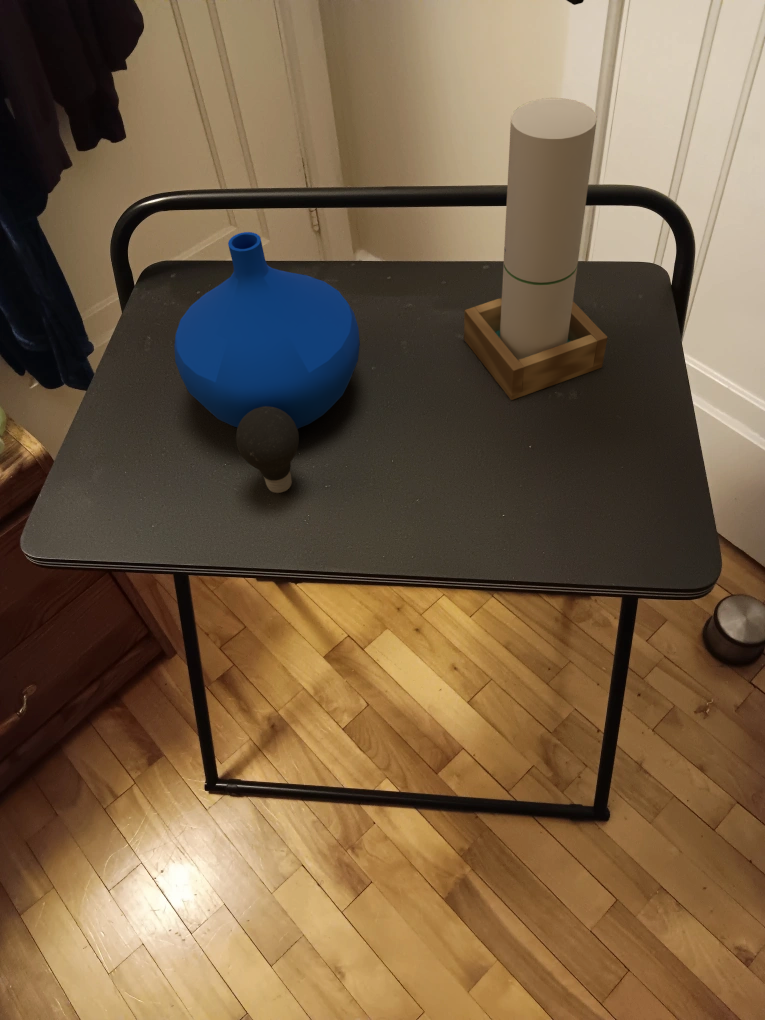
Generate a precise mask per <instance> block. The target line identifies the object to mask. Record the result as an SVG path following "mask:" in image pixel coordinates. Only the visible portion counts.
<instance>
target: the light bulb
mask: <svg viewBox="0 0 765 1020" xmlns="http://www.w3.org/2000/svg"><path fill="white" fill-rule="evenodd" d="M236 428H237V427H236ZM235 435H236V436H235V442H236V446H237V449H238V451H239V453H240V455H241V457H242V458H243V459H244V460H245V462H247V464H249V465H250V466H252V467H253V468H255V469H257V470H258V471H259V472H260V474H261V476H262V477H263V479H264V482H265V485H266V487H267V489H268V490H269V491H270V492H272V493H276V494H279V493H283V492H286V491H288V489H290V488H291V486H292V482H293V481H292V474H291V465H292V460H293V459H294V457H295V455H296V454H297V452H298V451H297V450H298V447H299V443H300V435H299V430H298V429H297V427H296V425H295V422H294V421H293V420H292V418H291V417H290V416H289V415H288V414H287V413H285V412H284V411H282V410H280V409H278V408H275V407H268V406H263V407H259V408H255V409H254V410H252V411H250V412H249V413H247V414H246V415H245V416H244V417H243V418H242V420H241V421H240V423H239V426H238V428H237V430H236V434H235Z"/></svg>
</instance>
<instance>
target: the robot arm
mask: <svg viewBox="0 0 765 1020" xmlns="http://www.w3.org/2000/svg"><path fill="white" fill-rule="evenodd" d="M566 1H567V2H568V3H569V4H571V5H574V6H576V5H581V4H583V3H584V1H585V0H566Z"/></svg>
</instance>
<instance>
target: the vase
mask: <svg viewBox="0 0 765 1020" xmlns="http://www.w3.org/2000/svg"><path fill="white" fill-rule="evenodd" d="M227 245H228V249H229V253H230V258H231V261H232V266H233V272H232V274H231V275H230V276H229V277H228V278H227V279H225V280H223V282H221V283H220V284H218V285H217V286H215V287H214V288H212V289H211V290H209V291H207V292H205V293H204V294H203V295H202V296H201V297H199V298H198V299H197V300H196V301H195V302H193V303H192V304H191V305H190V306H189V307H188V309H187V310H186V311H185V313H184V314H183V316H182V317H181V318H180V320H179V323H178V326H177V329H176V332H175V336H174V347H173V349H174V362H175V366H176V367H177V370H178V373H179V376H180V378H181V380H182V383H183V384H184V386H185V387H186V390H187V391H188V393H189V394H190V395H191V396H192V397H193V398H194V399H195V400H196V401H198V403H199V404H201V405H202V407H204V408H205V409H206V410H207V411H209V412H210V413H211V414H212V415H213V416H214V417H215V418H216V419H217V420H219V421H221V422H223V423H225V424H228V425H230V426H232V427H234V428H238V426H239V423H240V421H241V420H242V418H243V417H244V416H245V415H246V414H247V413H249V412H250V411H252V410H254V409H255V408H259V407H263V406H268V407H275V408H278V409H280V410H282V411H284V412H285V413H287V414H288V415H289V416H290V417H291V418H292V420H293V421H294V422H295V425H296V427H297V430H298V429H301V428H303V427H305V426H308V425H310V424H312V423H314V422H316V420H319V418H321V417H322V416H324V415H325V414H326V413H327V412H328V411H329V410H330V409H331V408H332V407H333V406H334V405H335V404H336V403H337V402H338V401H339V400H340V399H341V397H343V396H344V393H345V391H346V389H347V387H348V386H349V383H350V381H351V379H352V376H353V373H354V371H355V369H356V366H357V365H358V362H359V355H360V348H361V347H360V346H361V341H360V331H359V329H360V328H359V325H358V321H357V317H356V315H355V312H354V311H353V309H352V307H351V306H350V303H348V301H347V300H346V298H345V297H344V296H343V294H341V292H340V291H339V290H338V289H337V288H335V287H333V286H332V285H330V284H329V283H327V282H326V281H324V280H321V279H318V278H316V277H313V276H309V275H307V274H301V273H295V272H289V271H286V270H285V271H284V270H281V269H277V268H273V267H271V266H269V265H268V262H267V261H266V257H265V252H264V247H263V242H262V238H261V236H260V235H259V234H258V233H256V232H253V231H244V232H239V233H236V234H235V235H233V236H232V237H230V238H229V239H228V242H227Z"/></svg>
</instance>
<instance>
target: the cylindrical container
mask: <svg viewBox="0 0 765 1020" xmlns="http://www.w3.org/2000/svg"><path fill="white" fill-rule="evenodd" d="M597 121H598V116H597V113H596V111H595V110H594V109H593V108H592V107H591V106H589V105H588V104H585V103H584V102H581V101H578V100H577V99H570V98H564V97H544V98H539V99H534V100H531V101H528V102H525V103H523V104H521V105H520V106H518V107H516V108H515V110H513V112H512V114H511V115H510V128H509V129H510V130H509V145H508V146H509V147H508V148H509V149H508V166H507V167H508V168H507V186H506V187H507V188H506V205H505V206H506V207H505V226H504V245H503V246H504V248H503V263H502V265H503V267H502V284H501V298H502V303H501V323H500V339H501V340H502V342H503V343H504V344H505V345H506V346H507V348H508V349H509V350H510V351H511V352H512V354H513V355H514V356H515V357H516V358H517V360H520V359H523V358H525V357H528V356H531V355H534V354H537V353H540V352H542V351H545V350H548V349H551V348H554V347H557V346H560V345H562V344H565V343H567V341H568V333H569V326H570V318H571V311H572V303H573V302H574V295H575V287H576V279H577V273H578V265H579V259H580V258H579V257H580V250H581V249H580V248H581V242H582V235H583V228H584V227H583V226H584V220H585V219H584V218H585V212H586V204H587V197H588V189H589V183H590V173H591V168H592V160H593V152H594V145H595V136H596V129H597V128H596V127H597Z"/></svg>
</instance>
